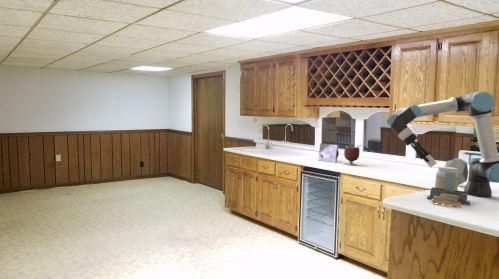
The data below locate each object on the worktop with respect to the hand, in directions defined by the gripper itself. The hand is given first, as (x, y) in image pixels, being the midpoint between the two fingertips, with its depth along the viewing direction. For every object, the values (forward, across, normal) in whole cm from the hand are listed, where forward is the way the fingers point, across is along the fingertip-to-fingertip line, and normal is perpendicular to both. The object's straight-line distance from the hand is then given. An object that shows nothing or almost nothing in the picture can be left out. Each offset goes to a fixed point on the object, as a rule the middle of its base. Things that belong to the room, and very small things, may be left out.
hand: (434, 165), depth 216 cm
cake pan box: (-61, -127, -88) cm, 167 cm away
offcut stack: (+19, +12, -7) cm, 24 cm away
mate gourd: (-43, -121, -70) cm, 147 cm away
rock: (+19, -71, -8) cm, 74 cm away
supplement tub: (+18, -19, -9) cm, 28 cm away
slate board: (+20, 0, -7) cm, 21 cm away
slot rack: (+20, 0, -7) cm, 21 cm away
